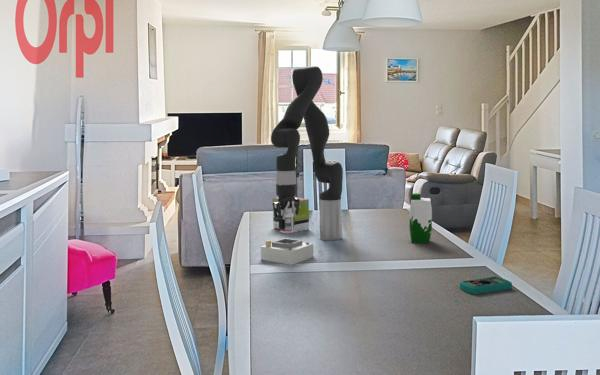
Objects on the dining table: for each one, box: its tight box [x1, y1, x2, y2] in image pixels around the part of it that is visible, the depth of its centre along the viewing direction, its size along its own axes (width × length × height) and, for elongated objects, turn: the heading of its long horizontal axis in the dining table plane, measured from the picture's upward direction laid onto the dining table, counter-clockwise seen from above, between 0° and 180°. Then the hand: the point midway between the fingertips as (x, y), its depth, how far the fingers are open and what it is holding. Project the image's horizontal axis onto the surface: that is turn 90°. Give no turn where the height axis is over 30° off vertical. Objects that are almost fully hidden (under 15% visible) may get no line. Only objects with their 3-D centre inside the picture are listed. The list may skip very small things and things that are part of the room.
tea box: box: [272, 196, 310, 233], centre depth 274 cm, size 15×10×15 cm
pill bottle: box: [279, 208, 294, 234], centre depth 217 cm, size 5×5×9 cm
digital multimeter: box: [459, 276, 513, 295], centre depth 178 cm, size 7×15×3 cm, turn 112°
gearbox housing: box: [260, 237, 314, 266], centre depth 218 cm, size 14×14×7 cm
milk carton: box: [409, 193, 433, 245], centre depth 243 cm, size 9×9×20 cm
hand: (286, 227), depth 218 cm, fingers closed on pill bottle, 5 cm apart
